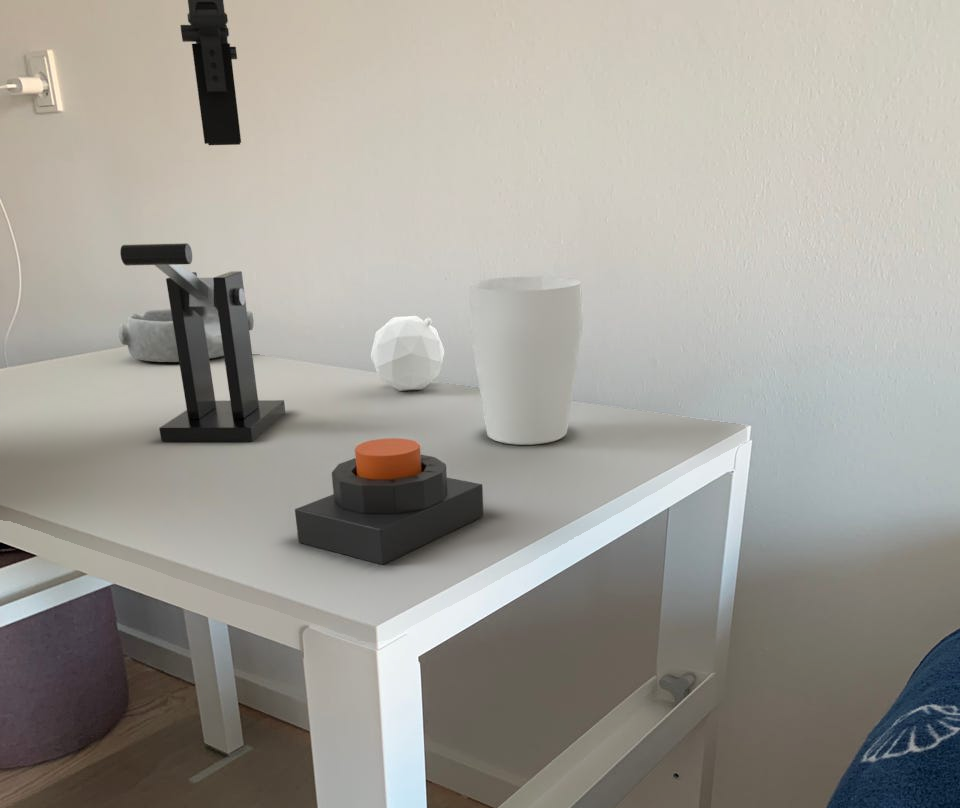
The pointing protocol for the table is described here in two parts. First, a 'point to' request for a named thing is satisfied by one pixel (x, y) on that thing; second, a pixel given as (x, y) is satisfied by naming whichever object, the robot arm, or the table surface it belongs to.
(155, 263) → the switch
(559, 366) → the cup
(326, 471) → the table surface
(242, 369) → the switch bracket
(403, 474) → the button
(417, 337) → the ornament
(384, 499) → the block
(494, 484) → the table surface
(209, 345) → the dish
